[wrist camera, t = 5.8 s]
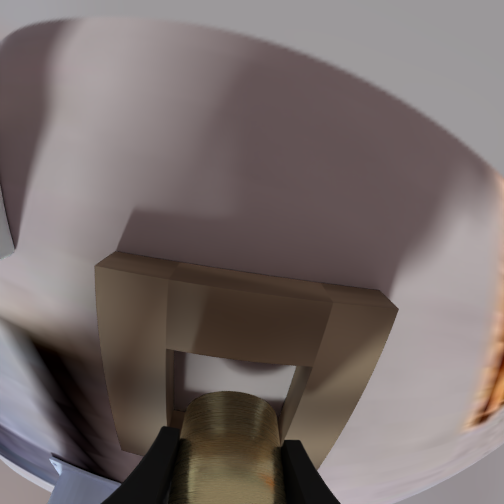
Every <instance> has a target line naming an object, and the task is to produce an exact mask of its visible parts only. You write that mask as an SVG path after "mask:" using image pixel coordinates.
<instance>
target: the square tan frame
mask: <svg viewBox="0 0 504 504" xmlns="http://www.w3.org/2000/svg"><path fill="white" fill-rule="evenodd" d="M95 292H96V308H97V320H98V331H99V340H100V348H101V355H102V362H103V369H104V375H105V381H106V386H107V392H108V397H109V402H110V406H111V411H112V415H113V419H114V424H115V428H116V432H117V435H118V439H119V443H120V446H121V450H123V451H126V452H130V453H133V454H137V455H141V456H145V455H146V453H147V452H148V450H149V449H150V447H151V446H152V444H153V442H154V441H155V439H156V437H157V435H158V433H159V431H160V429H161V427H163V426H168V427H173V428H178V429H180V435H181V430H182V426H183V421H184V416H185V412H181V411H175V410H174V350H176V351H182V352H187V353H193V354H199V355H206V356H212V357H219V358H226V359H233V360H241V361H250V362H259V363H269V364H280V365H293V366H297V367H296V370H295V373H294V376H293V379H292V382H291V385H290V388H289V391H288V394H287V397H286V400H285V403H284V406H283V408H282V411H281V414H280V417H279V420H278V422H277V423H278V432H279V440H280V449H281V446H282V444H283V442H284V440H300V441H301V442H302V444H303V446H304V448H305V450H306V452H307V454H308V456H309V458H310V460H311V461H312V463H313V465H314V467H315V468H316V470H318V468H319V467H320V465H321V464H322V462H323V461H324V459H325V458H326V456H327V455H328V453H329V452H330V450H331V448H332V447H333V445H334V444H335V442H336V440H337V439H338V437H339V435H340V434H341V432H342V430H343V429H344V427H345V425H346V423H347V422H348V420H349V418H350V416H351V414H352V413H353V411H354V409H355V407H356V405H357V403H358V401H359V399H360V397H361V395H362V393H363V391H364V389H365V387H366V385H367V383H368V381H369V379H370V377H371V375H372V373H373V371H374V369H375V366H376V364H377V362H378V360H379V357H380V355H381V353H382V351H383V348H384V346H385V343H386V341H387V339H388V336H389V334H390V331H391V329H392V326H393V323H394V321H395V318H396V315H397V313H398V310H399V309H398V308H397V307H396V306H395V305H394V304H393V303H392V302H391V301H390V300H389V299H388V298H387V297H386V296H385V295H384V294H383V293H382V292H381V291H380V290H373V289H365V288H357V287H349V286H341V285H333V284H326V283H318V282H311V281H304V280H296V279H289V278H282V277H275V276H268V275H261V274H254V273H247V272H241V271H234V270H227V269H221V268H214V267H208V266H201V265H195V264H189V263H182V262H176V261H170V260H164V259H158V258H152V257H146V256H140V255H134V254H128V253H122V252H117V251H115V252H114V253H112V254H111V255H109V256H108V257H106V258H105V259H103V260H102V261H101V262H99V263H98V264H96V265H95Z"/></svg>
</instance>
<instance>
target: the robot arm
mask: <svg viewBox="0 0 504 504" xmlns="http://www.w3.org/2000/svg"><path fill="white" fill-rule="evenodd" d="M179 441H180V429H178V428H173V427H168V426H163V427H161V429H160V431H159V433H158V435H157V437H156V439H155V441H154V442H153V444H152V446H151V447H150V449H149V450H148V452H147V453H146V455H145V456H144V457H143V459H142V460H141V461H140V463H139V464H138V465H137V467H136V468H135V469H134V470H133V472H132V473H131V474H130V475H129V476H128V477H127V479H126V480H125V481H124V482H123V483H122V484H121V483H118V482H115V481H112V480H109V479H106V478H103V477H100V476H98V475H95V474H92V473H90V472H87V471H84V470H82V469H79V468H77V467H75V466H72V465H70V464H68V463H65V462H63V461H61V460H59V459H57V458H54V457H50V461H51V463H52V464H53V466H54V467H55V469H56V470H57V472H58V473H59V475H60V476H59V479H58V481H57V483H56V485H55V487H54V490H53V492H52V494H51V497H50V499H49V501H48V503H47V504H168V499H169V493H170V487H171V482H172V477H173V471H174V466H175V461H176V457H177V451H178V446H179ZM281 457H282V466H283V475H284V483H285V492H286V501H287V504H341V503H340V502H339V501H338V500H337V499H336V497H335V496H334V495H333V493H332V492H331V491H330V489H329V488H328V487H327V485H326V484H325V482H324V481H323V479H322V478H321V476H320V475H319V473H318V472H317V470H316V468H315V467H314V465H313V463H312V461H311V460H310V458H309V456H308V454H307V452H306V450H305V448H304V446H303V444H302V442H301V441H300V440H284V442H283V444H282V446H281Z"/></svg>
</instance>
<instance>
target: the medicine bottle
mask: <svg viewBox="0 0 504 504" xmlns="http://www.w3.org/2000/svg"><path fill="white" fill-rule="evenodd" d="M13 253H14V245H13V241H12V237H11V234H10V230H9V225H8V221H7V217H6V212H5V208H4V203H3V197H2V192H1V186H0V260H2V259H4V258H7V257H9V256H11V255H12V254H13Z"/></svg>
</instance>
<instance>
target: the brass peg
mask: <svg viewBox="0 0 504 504" xmlns="http://www.w3.org/2000/svg"><path fill="white" fill-rule="evenodd" d="M168 504H287V501H286V492H285V483H284V475H283V466H282V457H281V449H280V440H279V432H278V423H277V416H276V413H275V411H274V409H273V408H272V407H271V406H270V405H269V404H268V403H267V402H266V401H264V400H262V399H261V398H258V397H256V396H254V395H250V394H247V393H242V392H235V391H220V392H213V393H208V394H205V395H202V396H200V397H198V398H196V399H195V400H193V401H192V402H191V403H190V404H189V405H188V407H187V409H186V411H185V416H184V421H183V426H182V430H181V435H180V441H179V446H178V451H177V457H176V461H175V466H174V471H173V477H172V482H171V487H170V493H169V499H168Z"/></svg>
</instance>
